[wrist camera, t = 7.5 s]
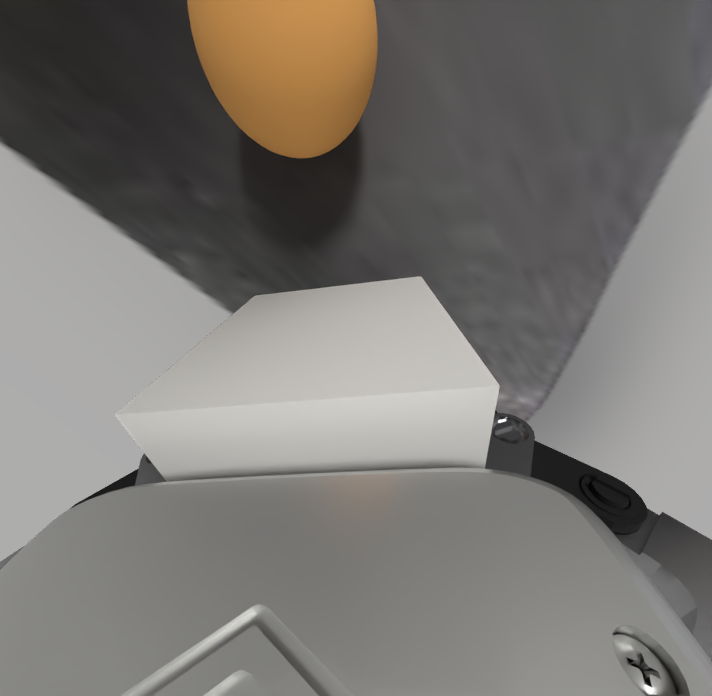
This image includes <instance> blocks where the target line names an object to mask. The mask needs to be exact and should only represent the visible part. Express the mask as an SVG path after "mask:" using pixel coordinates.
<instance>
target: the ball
mask: <svg viewBox="0 0 712 696" xmlns="http://www.w3.org/2000/svg"><path fill="white" fill-rule="evenodd" d="M187 4H188V12H189V18H190V24H191V30H192V35H193V39H194V43H195V47H196V50H197V53H198V56H199V59H200V62H201V65H202V67H203V70H204V72H205V74H206V76H207V79H208V81H209V83H210V85H211V87H212V89H213V91H214V93H215V95H216V96H217V98H218V100H219V102H220V103H221V104H222V106H223V107H224V109H225V110H226V112H227V113H228V114H229V116H230V117H231V118H232V119H233V121H234V122H235V123H236V124H237V125H238V127H239V128H240V129H242V130H243V131H244V132H245V133H246V134H247V135H248V136H249V137H250V138H252V139H253V140H254V141H256V142H257V143H258V144H260V145H261V146H263V147H264V148H266V149H268V150H270V151H272V152H274V153H277V154H279V155H283V156H287V157H291V158H312V157H316V156H320V155H322V154H324V153H327V152H329V151H330V150H332V149H334V148H335V147H337V146H338V145H339V144H340V143H341V142H343V141H344V140H345V139H346V138H347V137H348V135H349V134H350V133H351V132H352V131H353V129H354V128H355V126H356V125H357V123H358V122H359V120H360V118H361V116H362V114H363V112H364V110H365V108H366V105H367V103H368V100H369V97H370V93H371V90H372V86H373V82H374V76H375V70H376V63H377V50H378V46H377V22H376V12H375V5H374V0H187Z"/></svg>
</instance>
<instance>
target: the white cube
mask: <svg viewBox="0 0 712 696" xmlns="http://www.w3.org/2000/svg"><path fill="white" fill-rule="evenodd" d="M499 387H500V386H499V384H498V383H497V381H496V380H495V379H494V377H493V376H492V374H491V373H490V372H489V370H488V369H487V367H486V366H485V365H484V363H483V362H482V361H481V359H480V358H479V356H478V355H477V354H476V352H475V351H474V349H473V348H472V347H471V345H470V344H469V342H468V341H467V340H466V338H465V337H464V335H463V334H462V333H461V331H460V330H459V329H458V327H457V326H456V324H455V323H454V322H453V320H452V319H451V317H450V316H449V315H448V313H447V312H446V310H445V309H444V308H443V306H442V305H441V303H440V302H439V301H438V299H437V298H436V297H435V295H434V294H433V292H432V291H431V290H430V288H429V287H428V285H427V284H426V283H425V281H424V280H423V278H422V277H421V276H420V277H411V278H402V279H394V280H385V281H377V282H368V283H360V284H351V285H342V286H334V287H325V288H317V289H308V290H299V291H291V292H282V293H274V294H265V295H257V296H254V297H253V298H251V299H250V300H249V301H248V302H247V303H246V304H244V305H243V306H242V307H241V308H240V309H239V310H237V311H236V312H235V313H234V314H233V315H231V316H230V317H229V318H228V319H227V320H226V321H225V322H223V323H222V324H221V325H220V326H219V327H217V328H216V329H215V330H214V331H213V332H211V333H210V334H209V335H208V336H207V337H206V338H204V340H202V341H201V342H200V343H199V344H198V345H196V346H195V347H194V348H193V349H192V350H190V351H189V352H188V353H187V354H186V355H184V356H183V357H182V358H181V359H180V360H179V361H177V362H176V363H175V364H174V365H173V366H171V367H170V368H169V369H168V370H167V371H166V372H164V373H163V374H162V375H161V376H160V377H159V378H157V379H156V380H155V381H154V382H153V383H151V384H150V385H149V386H148V387H147V388H146V389H144V390H143V391H142V392H141V393H140V394H138V395H137V396H136V397H135V398H134V399H133V400H132V401H130V402H129V403H128V404H127V405H126V406H125V407H123V408H122V409H121V410H120V411H118V412H117V413H116V414H115V416H116V417H117V419H118V420H119V421H120V423H121V424H122V425H123V426H124V428H125V429H126V430H127V432H128V433H129V434H130V435H131V437H132V438H133V439H134V441H135V442H136V443H137V444H138V446H139V447H140V448H141V449H142V451H143V452H144V453H145V455H146V456H147V457H148V458H149V460H150V461H151V462H152V463H153V465H154V466H155V467H156V469H157V470H158V471H159V472H160V474H161V475H162V476H163V477H164V479H165V480H166V481H167V482H171V481H184V480H198V479H215V478H233V477H251V476H270V475H290V474H310V473H331V472H353V471H376V470H399V469H431V468H481V469H485V464H486V459H487V453H488V448H489V442H490V437H491V431H492V426H493V420H494V414H495V409H496V403H497V398H498V392H499Z"/></svg>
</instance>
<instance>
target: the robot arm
mask: <svg viewBox="0 0 712 696" xmlns="http://www.w3.org/2000/svg"><path fill="white" fill-rule="evenodd" d="M534 439H535V437H534V431H533V430H532V428H531V427H530V426H529V425H528V424H527V423H526V422H525V421H524V420H522V419H520V418H518V417H516V416H513V415H510V414H505V413H497V412H496V410H495V414H494V420H493V426H492V431H491V437H490V442H489V448H488V453H487V459H486V464H485V469H481V468H431V469H399V470H376V471H353V472H331V473H310V474H290V475H270V476H251V477H233V478H215V479H198V480H184V481H171V482H167V481H166V480H165V479H164V477H163V476H162V475H161V474H160V472H159V471H158V470H157V469H156V467H155V466H154V465H153V463H152V462H151V461H150V460H149V458H148V457H147V456H146V455H145V453H144V455H143V456H142V458H141V461H140V465H139V469H137V470H135V471H133V472H132V473H130V474H128V475H126V476H125V477H123V478H121V479H119V480H118V481H116V482H114V483H112V484H110V485H109V486H107V487H105V488H103V489H102V490H100V491H98V492H96V493H94V494H93V495H91V496H89V497H88V498H86V499H84V500H82V501H80V502H79V503H77V504H75V505H74V506H73V507H72V508H70V509H69V510H67V511H66V512H64V513H63V514H61V515H60V516H58V517H57V518H56V519H55V520H53V521H52V522H51V523H50V524H49V525H47V526H46V527H45V528H44V529H43V530H42V531H41V532H40V533H38V534H37V535H36V536H35V537H34V538H33V539H32V540H31V541H30V542H29V543H27V544H26V545H25V546H24V547H22V548H21V549H19V550H18V551H16V552H14V553H13V554H11V555H10V556H8V557H7V558H6V559H4V560H2V561H1V562H0V696H712V540H711V539H709V538H707V537H706V536H704V535H702V534H700V533H699V532H697V531H695V530H693V529H691V528H690V527H688V526H686V525H685V524H683V523H681V522H679V521H678V520H676V519H674V518H672V517H671V516H669V515H667V514H665V513H663V512H662V513H661V514H660V515H658V514H656V513H654V512H653V511H651V510H649V509H647V507H646V505H645V503H644V502H643V500H642V498H641V497H640V496H639V495H638V494H637V493H636V492H635V491H634V490H633V489H632V488H630V487H629V486H628V485H626V484H625V483H624V482H622V481H620V480H618V479H617V478H615V477H613V476H611V475H609V474H606V473H604V472H602V471H600V470H598V469H596V468H593V467H591V466H589V465H587V464H585V463H582V462H580V461H578V460H576V459H574V458H572V457H569V456H567V455H565V454H563V453H561V452H558V451H556V450H554V449H552V448H550V447H548V446H545V445H543V444H541V443H539V442H537V441H535V440H534ZM612 635H614V636H612Z"/></svg>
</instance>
